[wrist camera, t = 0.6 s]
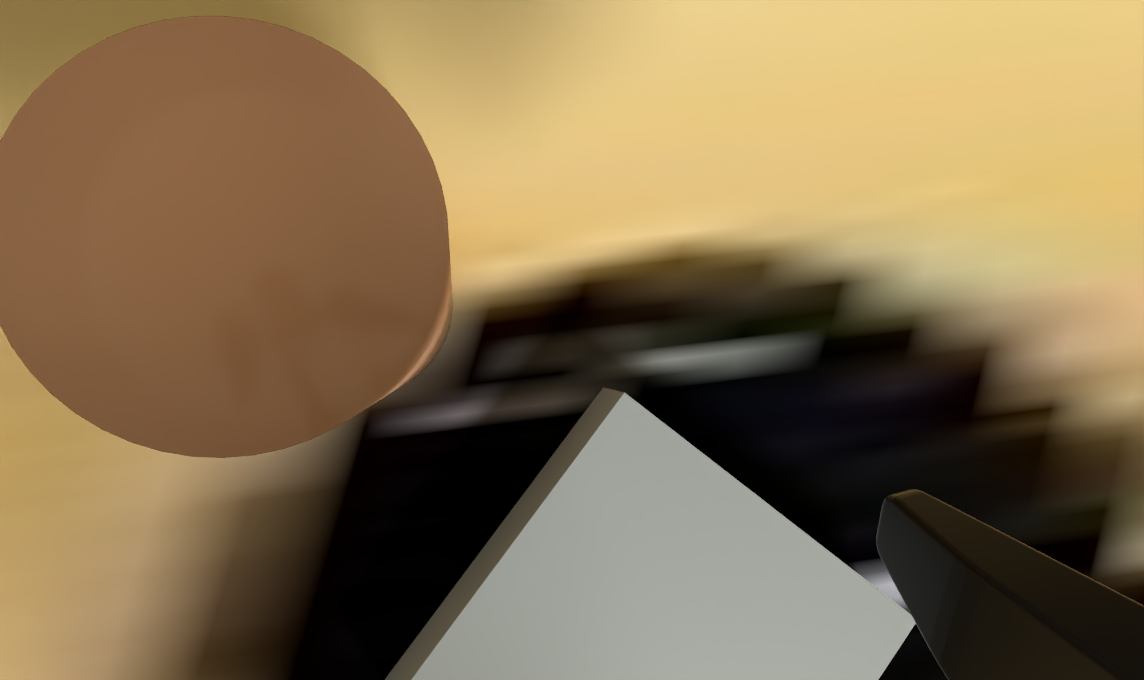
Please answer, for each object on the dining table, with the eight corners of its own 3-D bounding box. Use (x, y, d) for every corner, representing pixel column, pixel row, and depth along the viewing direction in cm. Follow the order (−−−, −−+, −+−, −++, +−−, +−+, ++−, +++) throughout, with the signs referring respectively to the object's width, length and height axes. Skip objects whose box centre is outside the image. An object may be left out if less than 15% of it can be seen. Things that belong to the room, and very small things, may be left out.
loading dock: (666, 876, 23) (697, 952, 20) (383, 681, 22) (372, 732, 19) (861, 587, 25) (917, 620, 22) (603, 387, 23) (624, 392, 20)
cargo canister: (375, 434, 22) (265, 545, 9) (219, 319, 22) (-128, 272, 9) (489, 287, 23) (533, 204, 10) (340, 171, 22) (183, -75, 9)
